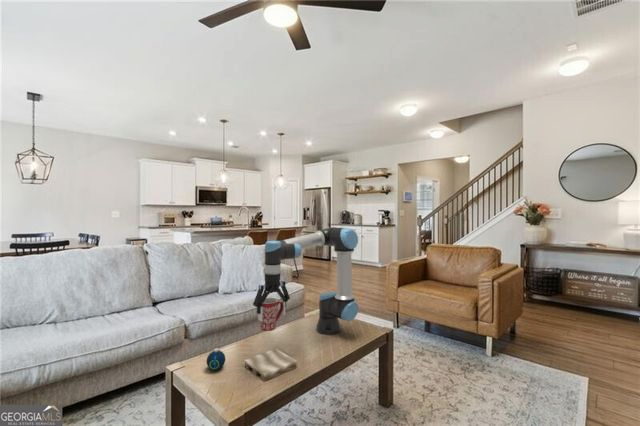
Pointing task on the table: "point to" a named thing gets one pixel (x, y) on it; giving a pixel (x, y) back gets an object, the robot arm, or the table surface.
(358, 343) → the table surface
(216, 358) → the christmas ornament
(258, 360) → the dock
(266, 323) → the mug
